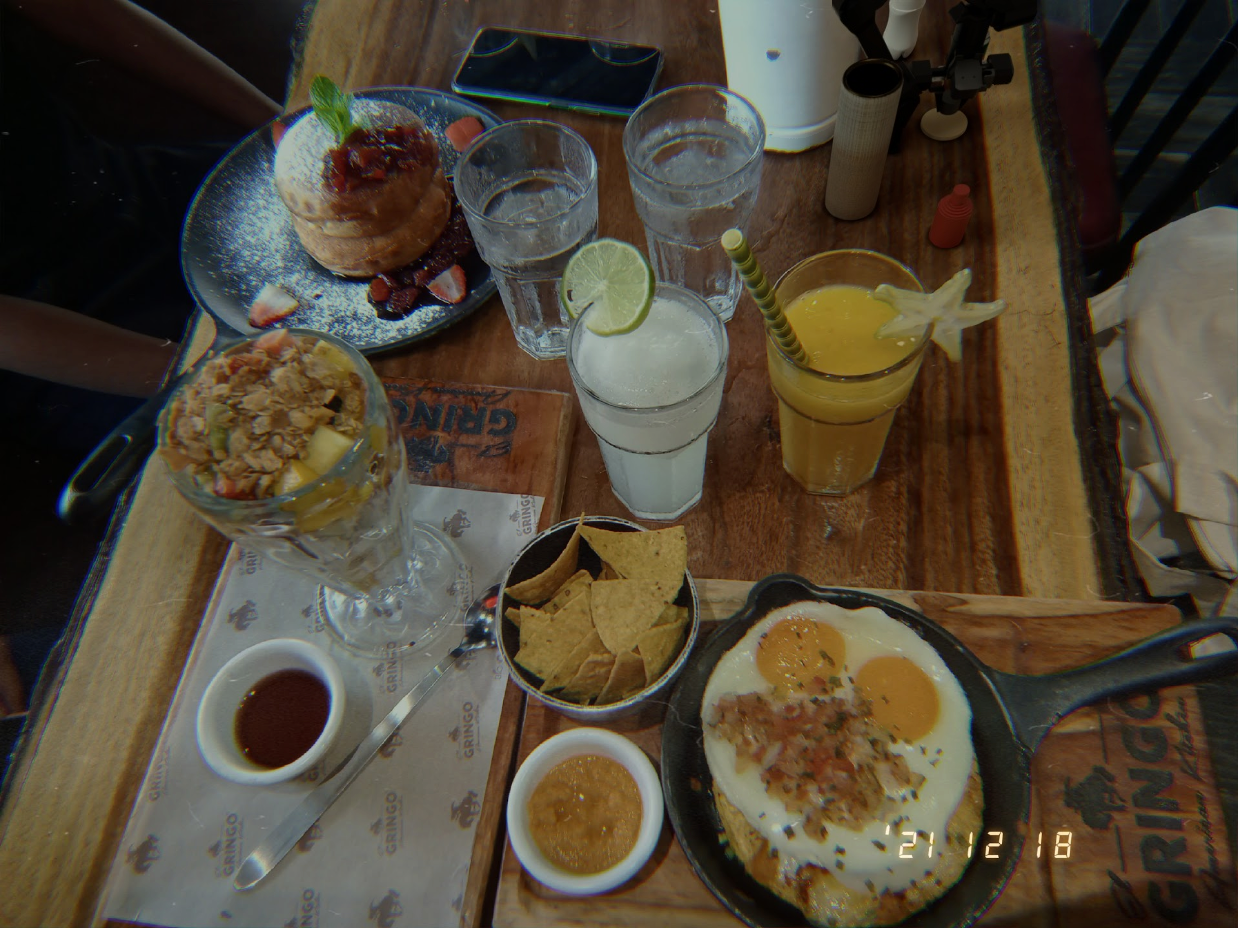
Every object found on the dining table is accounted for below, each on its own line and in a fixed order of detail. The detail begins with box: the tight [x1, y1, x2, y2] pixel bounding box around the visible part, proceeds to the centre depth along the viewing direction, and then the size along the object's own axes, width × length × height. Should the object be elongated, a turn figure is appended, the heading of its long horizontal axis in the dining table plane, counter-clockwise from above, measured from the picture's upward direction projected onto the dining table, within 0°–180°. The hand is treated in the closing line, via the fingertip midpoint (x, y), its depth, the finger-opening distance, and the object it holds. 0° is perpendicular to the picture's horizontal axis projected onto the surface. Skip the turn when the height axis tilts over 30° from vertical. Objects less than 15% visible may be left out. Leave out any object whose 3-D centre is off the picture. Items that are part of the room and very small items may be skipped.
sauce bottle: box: [928, 183, 974, 249], centre depth 134 cm, size 6×6×12 cm
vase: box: [824, 58, 904, 221], centre depth 134 cm, size 10×10×28 cm
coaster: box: [920, 107, 969, 141], centre depth 151 cm, size 9×9×1 cm
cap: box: [939, 89, 962, 115], centre depth 147 cm, size 4×4×3 cm
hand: (947, 110), depth 148 cm, fingers closed on cap, 4 cm apart
